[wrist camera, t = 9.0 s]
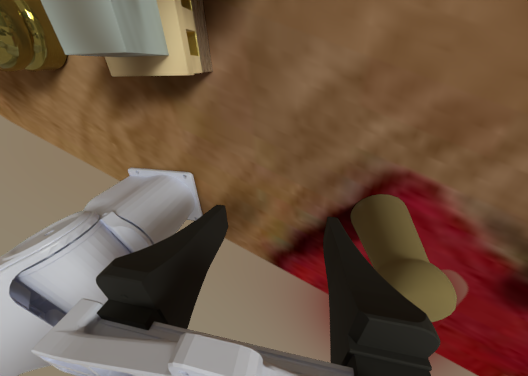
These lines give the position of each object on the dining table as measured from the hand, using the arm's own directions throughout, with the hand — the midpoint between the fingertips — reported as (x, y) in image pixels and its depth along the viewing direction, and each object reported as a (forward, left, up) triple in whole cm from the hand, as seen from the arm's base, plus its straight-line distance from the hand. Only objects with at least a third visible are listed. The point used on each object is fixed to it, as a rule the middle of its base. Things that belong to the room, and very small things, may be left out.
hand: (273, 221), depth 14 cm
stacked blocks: (-11, +12, -8) cm, 18 cm away
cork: (+11, -6, -10) cm, 16 cm away
